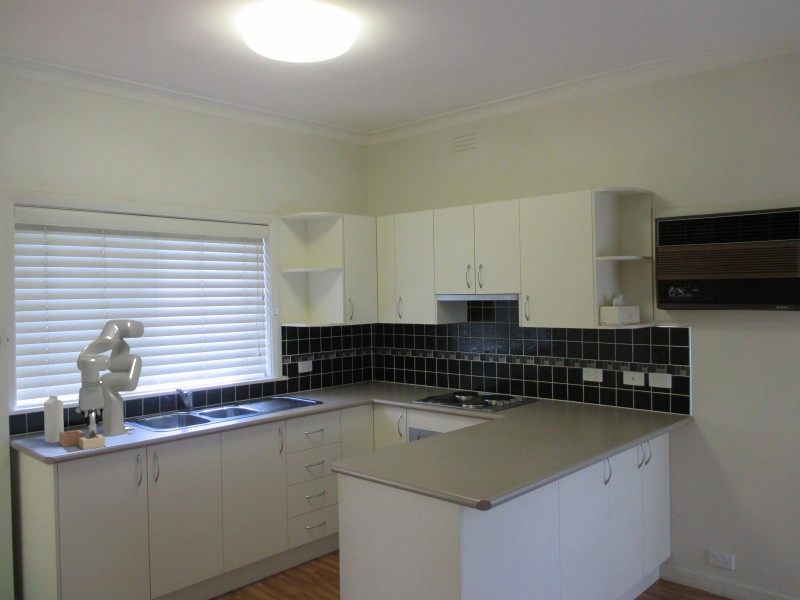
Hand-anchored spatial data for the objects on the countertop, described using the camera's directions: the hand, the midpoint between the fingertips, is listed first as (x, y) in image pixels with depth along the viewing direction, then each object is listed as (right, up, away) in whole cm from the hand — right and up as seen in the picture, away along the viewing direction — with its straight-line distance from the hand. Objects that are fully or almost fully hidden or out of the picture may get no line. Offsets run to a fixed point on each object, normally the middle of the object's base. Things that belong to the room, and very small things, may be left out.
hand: (92, 424), depth 302 cm
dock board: (-6, -11, +2) cm, 13 cm away
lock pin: (0, -6, 0) cm, 6 cm away
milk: (-26, -12, +16) cm, 32 cm away
